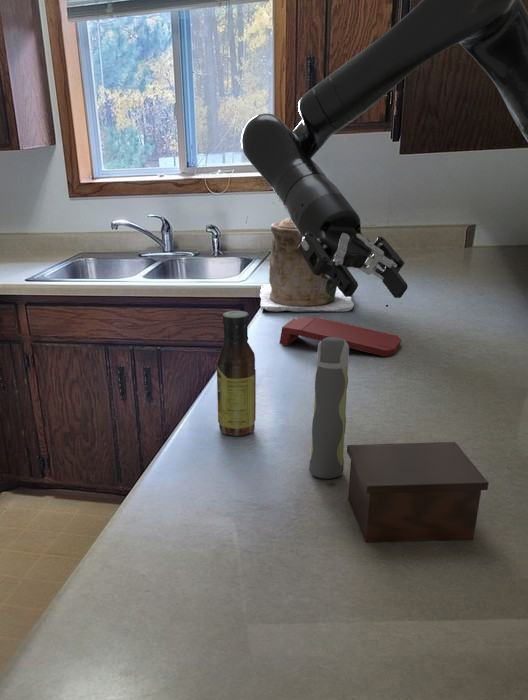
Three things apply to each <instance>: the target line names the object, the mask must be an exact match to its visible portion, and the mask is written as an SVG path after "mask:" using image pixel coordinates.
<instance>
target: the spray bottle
mask: <svg viewBox="0 0 528 700" xmlns="http://www.w3.org/2000/svg"><path fill="white" fill-rule="evenodd" d="M349 354H350V348H349V346H348V343H347V342H346V341H345V340H344V339H342V338H336V337H328V338H324V339H323V340H322V341H319V343H318V345H317V353H316V355H317V356H316V371H315V377H314V404H313V416H312V422H311V447H310V459H309V465H308V466H309V467H308V469H309V473H310V474H311V476H313V477H315V478H319V479H322V480H333V479H336V478H339V477H340V476H341V475H342V474H343V473H344V466H345V465H344V464H345V460H344V453H345V451H344V450H345V434H346V428H347V427H346V425H347V416H346V415H347V414H346V413H347V393H348V384H349V374H348V373H349V361H350V359H349Z"/></svg>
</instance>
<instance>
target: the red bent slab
mask: <svg viewBox="0 0 528 700" xmlns="http://www.w3.org/2000/svg"><path fill="white" fill-rule="evenodd" d="M299 337H303V338H306V339H311V340H315V341H319V342H321V341H322V340H323V339H324V338H328V337H336V338H342V339H344V340H345V341H346V342H347V343H348V346H349V349H353V350H357V351H361V352H363V353H364V352H365V353H369V354H373V355H377V356H381V357H390V356H393V355H394V354H395V353H396V352H397V350H398V349H399V348H400V346H401V344H402V339H401V338H400V337H399V336H398V335H397V334H392V333H389V332H384V331H379V330H375V329H370V328H366V327H362V326H359V325H354V324H349V323H345V322H341V321H336V320H332V319H327V318H324V317H319V316H318V317H317V316H303V317H300V316H298V317H297V318H292V319H290V320H289V321H288V322H287V323H286V324H284V325H283V326H281V332H280V338H279V344H280V345H284V346H289V345H290V344H291V343H293V342H294V341H296V339H298V338H299Z"/></svg>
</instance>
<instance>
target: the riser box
mask: <svg viewBox="0 0 528 700" xmlns="http://www.w3.org/2000/svg"><path fill="white" fill-rule="evenodd" d="M346 453H347V455H348V457H349V459H350V464H349V465H350V466H349V477H348V480H349V481H348V493H347V501H348V504H349V506H350V508H351V511H352V513H353V516H354V518H355V520H356V522H357V525H358V528H359V530H360V532H361V535H362V537H363V539H364V542H365V543H387V542H388V543H390V542H391V543H392V542H429V541H432V542H433V541H434V542H435V541H466V540H467V541H468V540H474V537H475V531H476V526H477V518H478V512H479V506H480V500H481V495H482V491H487V490H488V489H489V481H488V480H487V478H485V476H484V475H483V474H482V472H481V471H480V470H479V469H478V468H477V466H476V465H475V464H474V463H473V462H472V460H471V459H470V458H469V457H468V456H467V455H466V453H465V452H464V451H463V450H462V448H461V447H460V446H459V444H457V442H456V441H437V442H403V443H399V442H398V443H371V444H370V443H369V444H347V446H346Z"/></svg>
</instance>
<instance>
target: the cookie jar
mask: <svg viewBox="0 0 528 700" xmlns="http://www.w3.org/2000/svg"><path fill="white" fill-rule="evenodd" d="M270 231H271V233H272V239H271V240H272V242H271V245H272V248H271V254H270V257H269V273H268V282H269V284H266V285H265V284H264V285H261V287H260V290H259V298H260V302H259V306H260V309H261V311H263V310H266V311H269V312H284V311H289V312H301V313H303V312H343V313H344V312H349V311H352V309H353V307H354V306H355V302H353V300H352V296H351V297H345V296H344V294H343V293H342V292H341V291H340V290H339V289H338V287H337V286H336V284H335V283H334V281H333V280H332V279H329V278H327V277H326V275H325V274H323V273H321V275H320V276H317V275H315V274H314V273H313V272H312V270H311V269H310V267H309V265H308V264H307V262H306V260H305V259H304V257H303V255H302V254H301V252H300V251H299V249H298V247H299V245H300V243H301V242H302V240H303V237H302V236H301V234H300V233H299V231H298V230H297V228H296V227H295V225H294V224H293V222H292V221H291V219H290V216H288V217H286V218H284V219H283V220H280V221H277V222H273V223H272V224H271V225H270ZM318 260H319V258H317V262H318Z"/></svg>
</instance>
